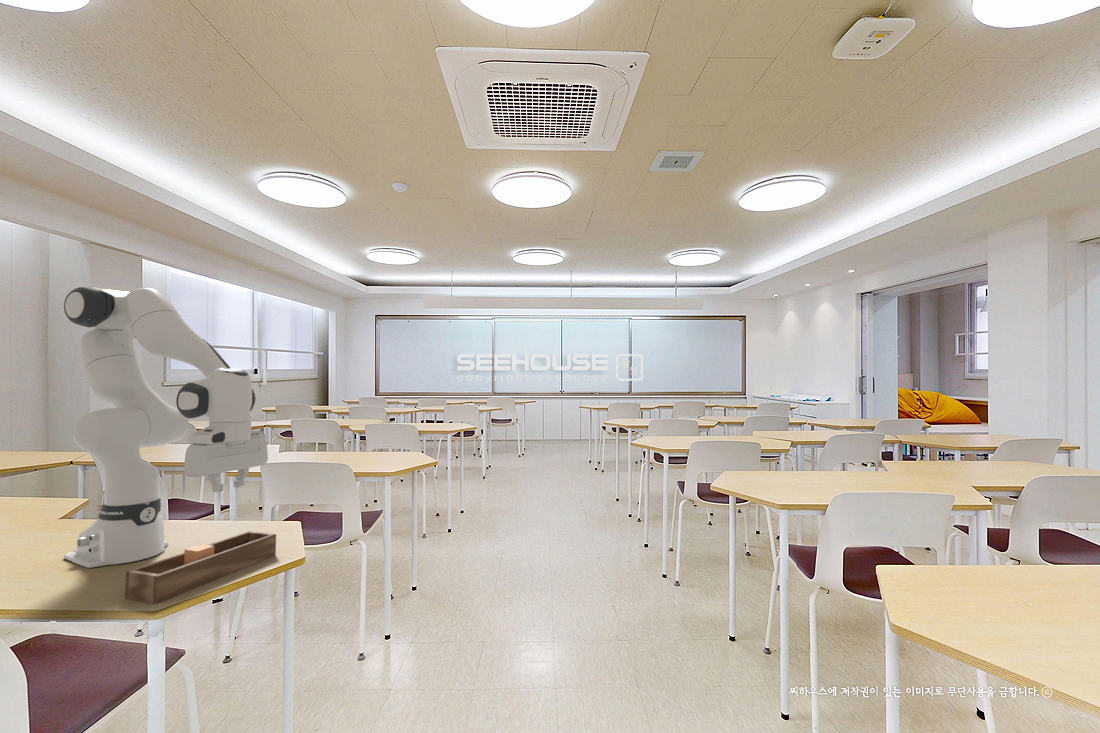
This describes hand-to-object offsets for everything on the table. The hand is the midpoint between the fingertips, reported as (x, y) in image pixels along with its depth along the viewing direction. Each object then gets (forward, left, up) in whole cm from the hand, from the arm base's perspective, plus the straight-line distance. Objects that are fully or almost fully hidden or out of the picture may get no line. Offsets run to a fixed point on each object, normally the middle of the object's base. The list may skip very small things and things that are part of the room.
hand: (228, 489), depth 121 cm
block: (0, -7, -16) cm, 18 cm away
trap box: (0, -4, -19) cm, 20 cm away
